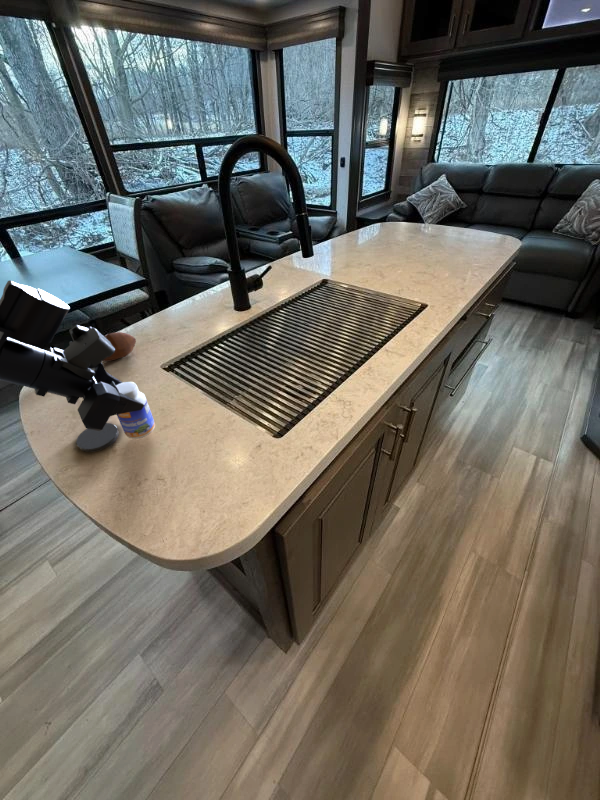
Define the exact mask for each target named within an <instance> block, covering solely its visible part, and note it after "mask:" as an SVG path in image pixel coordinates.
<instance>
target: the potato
mask: <svg viewBox="0 0 600 800" xmlns="http://www.w3.org/2000/svg"><path fill="white" fill-rule="evenodd" d="M103 336H104V337H105V338H106V339H107V340H109V341H110V342H111V344H112V346H113V347H114V348H115V352H114V353H113V354H112V355H111V356H110V357H107V358H105V359H104V360H103V361H102V362H110V361H115V360H118V359H122V358H125V357H127V356H129V354H130V353H132V351H133V350H134V348H135V346H136V342H137V340H136V339H137V338H136V337H134V336H133V335H132V334H129V333H127V332H124V331H123V332H122V331H117V332H116V331H115V332H110V333H107V334H105V335H103Z"/></svg>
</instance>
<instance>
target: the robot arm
mask: <svg viewBox="0 0 600 800" xmlns="http://www.w3.org/2000/svg"><path fill="white" fill-rule="evenodd" d="M70 309H71V307H70V306H69V305H68V304H67V303H65V302H64V301H62V299H60V298H58V297H57V296H54V295H53V294H50V293H49V292H47V291H45V290H43V289H40V288H34V287H32V286H29V285H26V284H20V283H17V282H15V281H13V280H7V281H6V284H5V285H4V288H3V292H2V295H1V297H0V381H4V382H7V383H11V384H14V385H18V386H23V387H25V388H29V389H33V390H34V392H35V395H36V396H40V397H45V396H46V394H47V393H48V394H53V395H57V396H59V397H63V398H66V401H67V403H68V404H70V405H71V404H72V405H76V404H77V403H78V401H79V399H80V398H81V399H83V400H82V402H81V403H80V405H79V406H78V408H77V412H78V415H79V417H80V419H81V422H82V424H83V426H84V427H85V429H92V430H96V431H101V430H102V429H103V427H104V426H105V424H106V423H108V421H109V419H110V418H111V417H113V416H117V414H122V413H128V412H133V411H139V410H142V409H143V407H144V404H143V403H141V402H139V401H137V400H135V399H133V398H130V397H128V396H126V395H124V394H122V393H120V392H119V390H118V388H117V387H116V385H118V384H120V383H123V382H124V381H122V380H121V379H118V378H117V377H116V376H114V375H112V374H110V373H109V372H108V371H107V370H106V368H105V366H104V364H103V362H104V361H103V360H104V359H105V358H107V357H110V356H111V355H112V354H113V353H114V352H115V348H114V347H113V346H112V344H111V342H110V341H109V340H107V339H106V338H105V337H104V336H105V335H103V334H102V333H101V332H100V331H99V330H98V329H97V328H95V327H92V326H88V327H85V326H82V325H78V324H75V325H73V327H71V328H70V329H69V330H68V331H69V334H70V336H71V338H72V340H73V341H69V342H68V344H69V345H68V346H67V347H66V348H65V349H60V348H58V347H53V348H52V347H50V348H49V349H48V350H45V349H42V348H40V347H44V345H45V344H50V343H52V341H53V339H54V338H55V335H56V333H57V332H58V330H59V328H60V327H61V325H62V323H63V321H64V319H65V318H66V316H67V314H68V312H69V311H70ZM38 346H39V347H38Z"/></svg>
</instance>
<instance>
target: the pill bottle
mask: <svg viewBox="0 0 600 800" xmlns="http://www.w3.org/2000/svg"><path fill="white" fill-rule="evenodd" d="M122 382H123V383H120V384H118V385H116V387H117V388H118V390H119V392H120V393H122V394H124V395H126V396H128V397H130V398H133V399H135V400H137V401H139V402H141V403H143V404H144V407H143V409H142V410H139V411H133V412H128V413H122V414H117V415H116V417H117V419H118V421H119V424H120V426H121V429H122V431H123V433H124V435H125V436H126V437H127V438H128V439H133V440H134V439H135V440H136V439H137V440H138V439H142V438H145V437H147V436H149V435H150V434H151V433H152V432H153V431H154V430H155V427H156V423H155V420H154V417H153V414H152V411H151V408H150V405H149V403H148V400H147V397H146V395H145V393H143V392H142V391H140V390H139V387H138V385H137V384H136V382H133V381H122Z"/></svg>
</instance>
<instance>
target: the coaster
mask: <svg viewBox="0 0 600 800" xmlns="http://www.w3.org/2000/svg"><path fill="white" fill-rule="evenodd" d="M119 435H120V431H119V429H118V427H117V426H116V425H115V424H114V423H110V422H106V424H105V426H104V427H103V429H102V430H101V431H96V430H92V429H87V428H85V430H83V431H82V432H81V433H80V434H79V435H78V436H77V438H76V442H75V443H76V446H77V447H78V449H79V450H80V451H82V452H84V453H96V452H99V451H102V450H104V449H106V448H108V447H110V446H111V445H113V444H114V443H115V442H116V441H117V439H118V438H119Z"/></svg>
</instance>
